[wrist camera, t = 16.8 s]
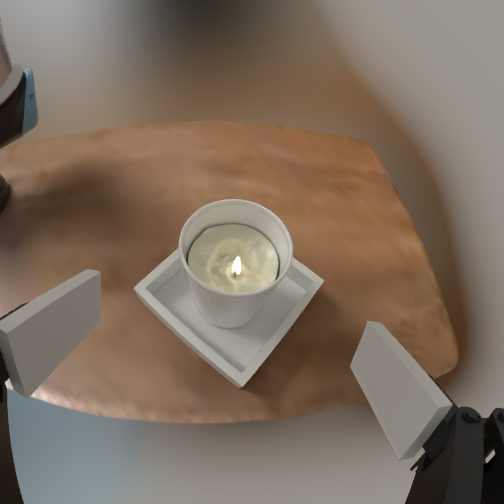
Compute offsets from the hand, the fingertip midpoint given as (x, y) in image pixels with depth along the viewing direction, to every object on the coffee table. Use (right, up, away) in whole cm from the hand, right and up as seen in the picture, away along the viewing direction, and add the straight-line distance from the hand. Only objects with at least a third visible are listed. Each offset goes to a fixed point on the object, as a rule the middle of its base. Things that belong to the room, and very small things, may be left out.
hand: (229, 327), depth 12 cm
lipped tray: (-2, -3, +22) cm, 22 cm away
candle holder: (-2, -2, +21) cm, 22 cm away
